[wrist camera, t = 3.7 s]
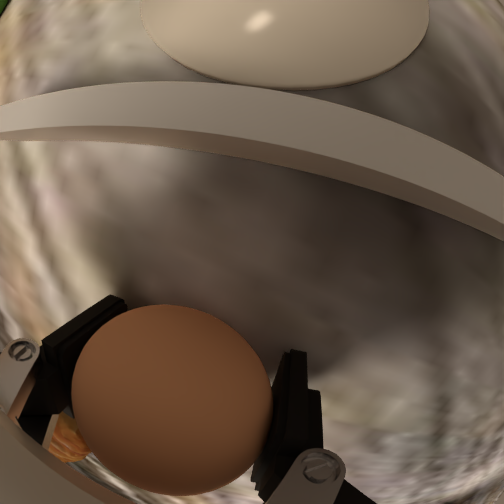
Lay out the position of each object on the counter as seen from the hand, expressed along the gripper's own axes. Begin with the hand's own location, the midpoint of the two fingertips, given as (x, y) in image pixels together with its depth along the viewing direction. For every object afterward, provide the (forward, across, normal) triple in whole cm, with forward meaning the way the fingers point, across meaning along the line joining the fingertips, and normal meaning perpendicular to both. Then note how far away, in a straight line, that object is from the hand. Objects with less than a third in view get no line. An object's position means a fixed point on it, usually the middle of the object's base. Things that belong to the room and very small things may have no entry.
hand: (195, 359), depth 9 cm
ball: (-2, 0, 0) cm, 2 cm away
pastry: (+1, +11, +13) cm, 17 cm away
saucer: (+1, 0, -15) cm, 15 cm away
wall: (+1, 0, -7) cm, 7 cm away
